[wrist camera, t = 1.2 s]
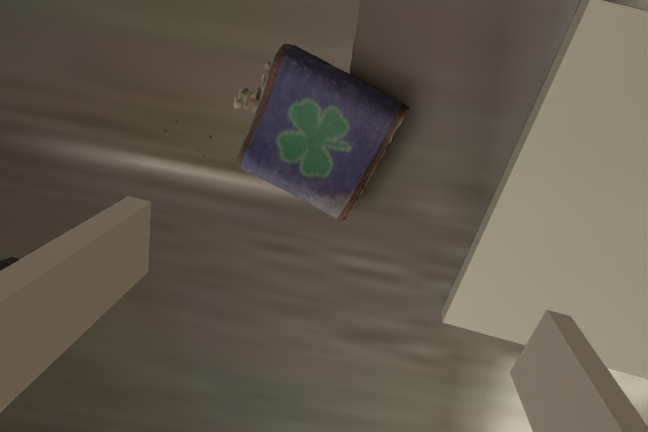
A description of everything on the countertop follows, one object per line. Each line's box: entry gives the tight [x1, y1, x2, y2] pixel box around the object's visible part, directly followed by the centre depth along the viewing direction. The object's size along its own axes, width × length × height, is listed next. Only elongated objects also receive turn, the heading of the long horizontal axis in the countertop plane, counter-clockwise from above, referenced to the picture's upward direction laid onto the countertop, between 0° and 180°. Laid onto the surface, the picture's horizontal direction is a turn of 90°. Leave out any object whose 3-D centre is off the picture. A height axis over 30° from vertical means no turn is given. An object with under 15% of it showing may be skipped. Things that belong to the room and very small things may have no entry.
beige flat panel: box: [441, 0, 648, 379], centre depth 27 cm, size 24×20×1 cm
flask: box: [233, 44, 409, 222], centre depth 27 cm, size 9×3×11 cm
